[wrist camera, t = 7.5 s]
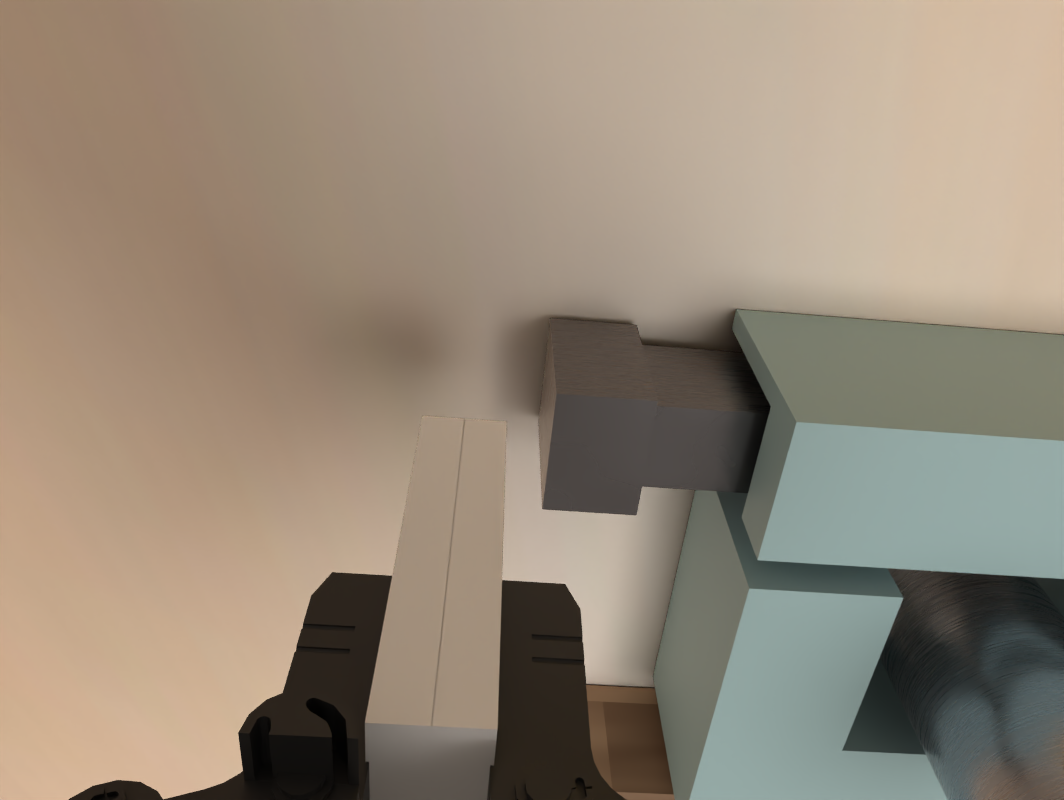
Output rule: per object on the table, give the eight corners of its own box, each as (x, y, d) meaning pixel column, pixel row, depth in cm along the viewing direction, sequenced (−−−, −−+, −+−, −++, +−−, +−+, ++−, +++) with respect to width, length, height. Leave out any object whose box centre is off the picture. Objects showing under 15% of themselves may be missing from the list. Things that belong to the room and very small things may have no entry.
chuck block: (736, 309, 20) (796, 422, 16) (1227, 348, 21) (1413, 465, 17) (652, 676, 26) (680, 831, 22) (1038, 696, 27) (1138, 850, 23)
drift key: (550, 318, 20) (556, 393, 17) (971, 350, 21) (1050, 429, 18) (538, 422, 21) (541, 509, 18) (933, 450, 22) (1000, 538, 19)
